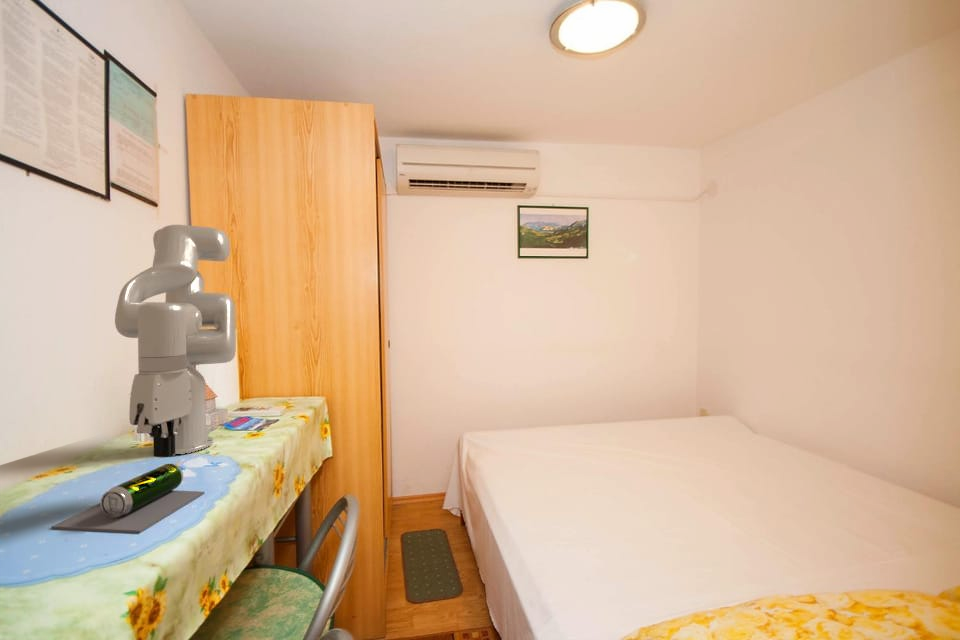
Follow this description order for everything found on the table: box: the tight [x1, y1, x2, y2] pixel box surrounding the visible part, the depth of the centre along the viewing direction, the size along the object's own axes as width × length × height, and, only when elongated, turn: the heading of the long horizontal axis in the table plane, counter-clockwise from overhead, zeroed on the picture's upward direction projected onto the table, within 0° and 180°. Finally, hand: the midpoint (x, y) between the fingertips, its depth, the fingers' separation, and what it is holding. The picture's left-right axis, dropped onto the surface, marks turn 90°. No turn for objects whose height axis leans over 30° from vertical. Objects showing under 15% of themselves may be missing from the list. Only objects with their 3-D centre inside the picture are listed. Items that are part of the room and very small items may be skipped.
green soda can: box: [99, 463, 184, 518], centre depth 75 cm, size 5×5×12 cm
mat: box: [51, 489, 205, 534], centre depth 73 cm, size 14×16×1 cm
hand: (164, 455), depth 79 cm, fingers closed
